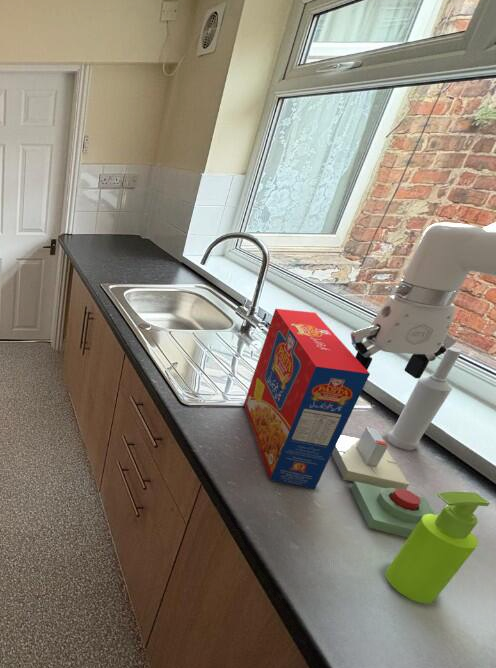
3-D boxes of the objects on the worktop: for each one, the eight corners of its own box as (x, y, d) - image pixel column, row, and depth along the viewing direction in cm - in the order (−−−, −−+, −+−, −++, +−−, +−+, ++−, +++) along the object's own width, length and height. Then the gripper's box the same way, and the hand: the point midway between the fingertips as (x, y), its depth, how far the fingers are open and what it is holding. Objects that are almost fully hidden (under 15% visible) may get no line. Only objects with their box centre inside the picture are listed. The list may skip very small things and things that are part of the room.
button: (411, 498, 78) (415, 491, 77) (420, 513, 75) (424, 506, 74) (387, 492, 79) (391, 486, 79) (395, 507, 76) (399, 500, 76)
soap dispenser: (369, 567, 70) (425, 480, 61) (411, 568, 70) (473, 481, 61) (399, 603, 65) (465, 513, 56) (445, 604, 64) (518, 514, 55)
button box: (419, 505, 81) (429, 490, 79) (446, 548, 73) (458, 532, 71) (350, 488, 85) (358, 474, 83) (368, 527, 77) (377, 512, 75)
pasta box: (243, 404, 111) (275, 308, 98) (278, 410, 108) (315, 312, 96) (269, 479, 87) (315, 366, 75) (314, 489, 85) (370, 373, 72)
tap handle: (356, 446, 92) (366, 426, 90) (366, 448, 92) (376, 428, 89) (366, 464, 88) (377, 443, 85) (376, 466, 87) (388, 445, 84)
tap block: (324, 440, 98) (328, 431, 97) (378, 451, 94) (383, 442, 93) (342, 479, 87) (347, 470, 86) (404, 493, 84) (410, 484, 82)
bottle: (419, 445, 96) (475, 350, 85) (412, 454, 94) (469, 358, 82) (390, 433, 100) (440, 341, 89) (383, 441, 97) (434, 348, 86)
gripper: (386, 298, 73) (348, 380, 81) (499, 303, 71) (448, 386, 79) (359, 284, 80) (326, 360, 88) (461, 288, 78) (418, 366, 85)
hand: (384, 373), depth 83 cm, fingers open, 9 cm apart
